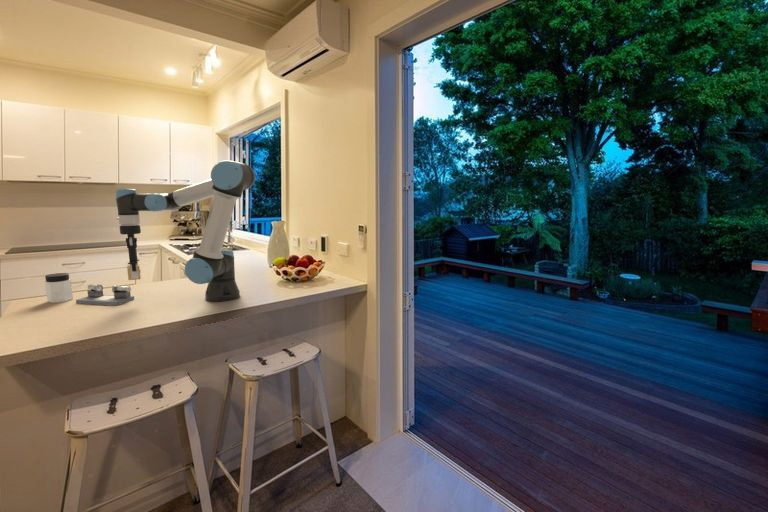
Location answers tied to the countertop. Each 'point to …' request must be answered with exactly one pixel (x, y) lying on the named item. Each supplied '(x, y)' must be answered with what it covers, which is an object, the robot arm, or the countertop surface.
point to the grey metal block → (121, 292)
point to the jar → (58, 287)
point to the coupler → (130, 272)
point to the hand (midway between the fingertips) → (135, 277)
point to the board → (104, 300)
